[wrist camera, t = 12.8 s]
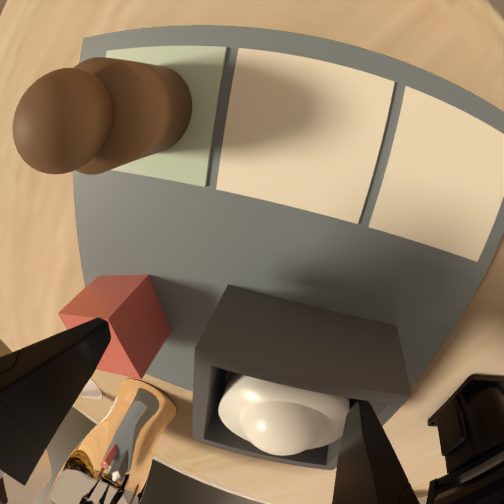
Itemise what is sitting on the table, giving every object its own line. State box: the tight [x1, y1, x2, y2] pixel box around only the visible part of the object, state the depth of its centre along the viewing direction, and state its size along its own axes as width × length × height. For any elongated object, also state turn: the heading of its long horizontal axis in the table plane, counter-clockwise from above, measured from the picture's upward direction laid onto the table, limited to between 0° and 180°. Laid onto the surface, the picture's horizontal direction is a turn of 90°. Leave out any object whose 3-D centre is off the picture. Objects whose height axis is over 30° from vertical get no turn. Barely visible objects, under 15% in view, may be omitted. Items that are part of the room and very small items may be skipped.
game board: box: [73, 25, 504, 470], centre depth 13 cm, size 22×22×6 cm
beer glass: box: [47, 379, 176, 504], centre depth 18 cm, size 7×7×15 cm
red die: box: [58, 274, 171, 379], centre depth 15 cm, size 4×4×4 cm
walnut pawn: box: [13, 57, 192, 175], centre depth 8 cm, size 4×4×7 cm
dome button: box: [218, 372, 350, 456], centre depth 13 cm, size 6×6×4 cm
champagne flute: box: [3, 378, 102, 504], centre depth 17 cm, size 7×7×24 cm
